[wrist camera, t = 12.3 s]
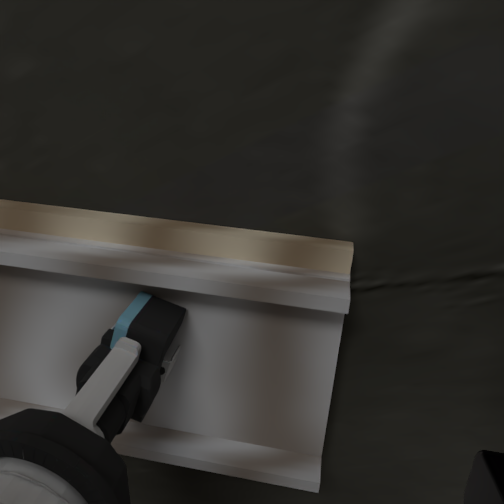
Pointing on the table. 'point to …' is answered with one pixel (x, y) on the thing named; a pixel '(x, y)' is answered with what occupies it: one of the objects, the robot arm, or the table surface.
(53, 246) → the rail board
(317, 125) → the table surface
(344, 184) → the table surface
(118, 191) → the table surface
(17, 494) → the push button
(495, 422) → the table surface
